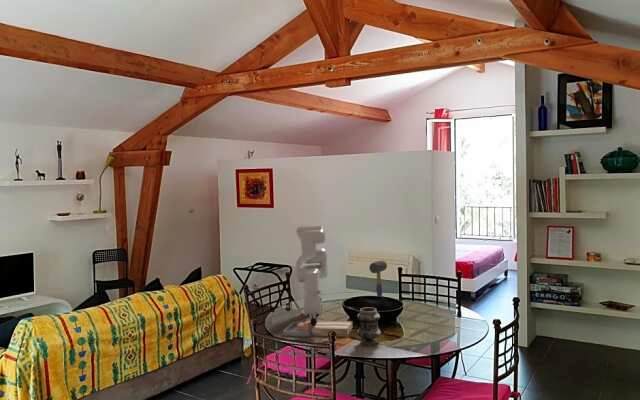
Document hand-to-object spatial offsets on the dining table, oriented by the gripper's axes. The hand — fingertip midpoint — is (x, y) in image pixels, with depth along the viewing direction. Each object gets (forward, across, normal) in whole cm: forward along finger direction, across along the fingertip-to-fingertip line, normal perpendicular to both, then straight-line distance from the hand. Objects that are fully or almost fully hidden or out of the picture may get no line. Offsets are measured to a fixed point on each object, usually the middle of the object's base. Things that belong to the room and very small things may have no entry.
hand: (313, 325), depth 286 cm
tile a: (+1, +8, -6) cm, 10 cm away
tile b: (+1, +2, 0) cm, 2 cm away
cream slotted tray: (+5, -10, -3) cm, 12 cm away
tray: (+5, +9, -4) cm, 10 cm away
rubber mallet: (+5, -28, -65) cm, 71 cm away
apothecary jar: (+5, -34, +15) cm, 37 cm away
